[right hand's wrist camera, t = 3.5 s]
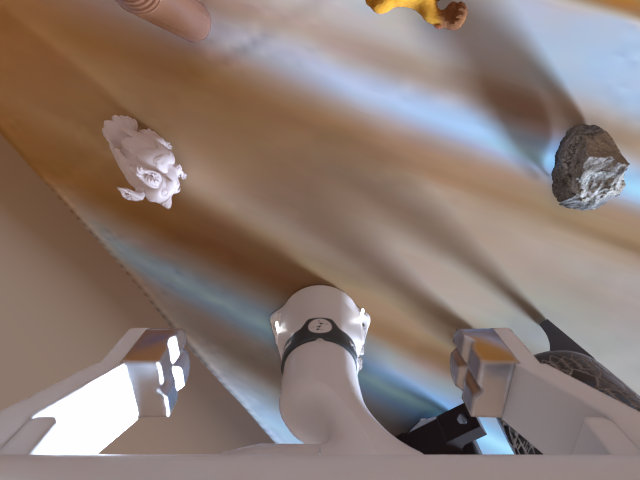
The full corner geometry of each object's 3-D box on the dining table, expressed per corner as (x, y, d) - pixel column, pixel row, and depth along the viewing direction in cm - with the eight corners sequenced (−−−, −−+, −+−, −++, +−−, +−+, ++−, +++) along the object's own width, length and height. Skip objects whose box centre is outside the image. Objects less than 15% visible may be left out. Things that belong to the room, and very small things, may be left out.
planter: (529, 284, 64) (662, 396, 39) (579, 350, 69) (724, 486, 44) (440, 343, 68) (508, 477, 44) (493, 401, 73) (581, 550, 49)
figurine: (176, 207, 58) (140, 233, 47) (102, 138, 54) (41, 147, 43) (209, 175, 57) (179, 193, 45) (134, 101, 53) (80, 99, 41)
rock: (609, 194, 57) (643, 204, 51) (556, 216, 59) (582, 229, 53) (592, 117, 53) (626, 118, 47) (535, 143, 55) (561, 148, 49)
